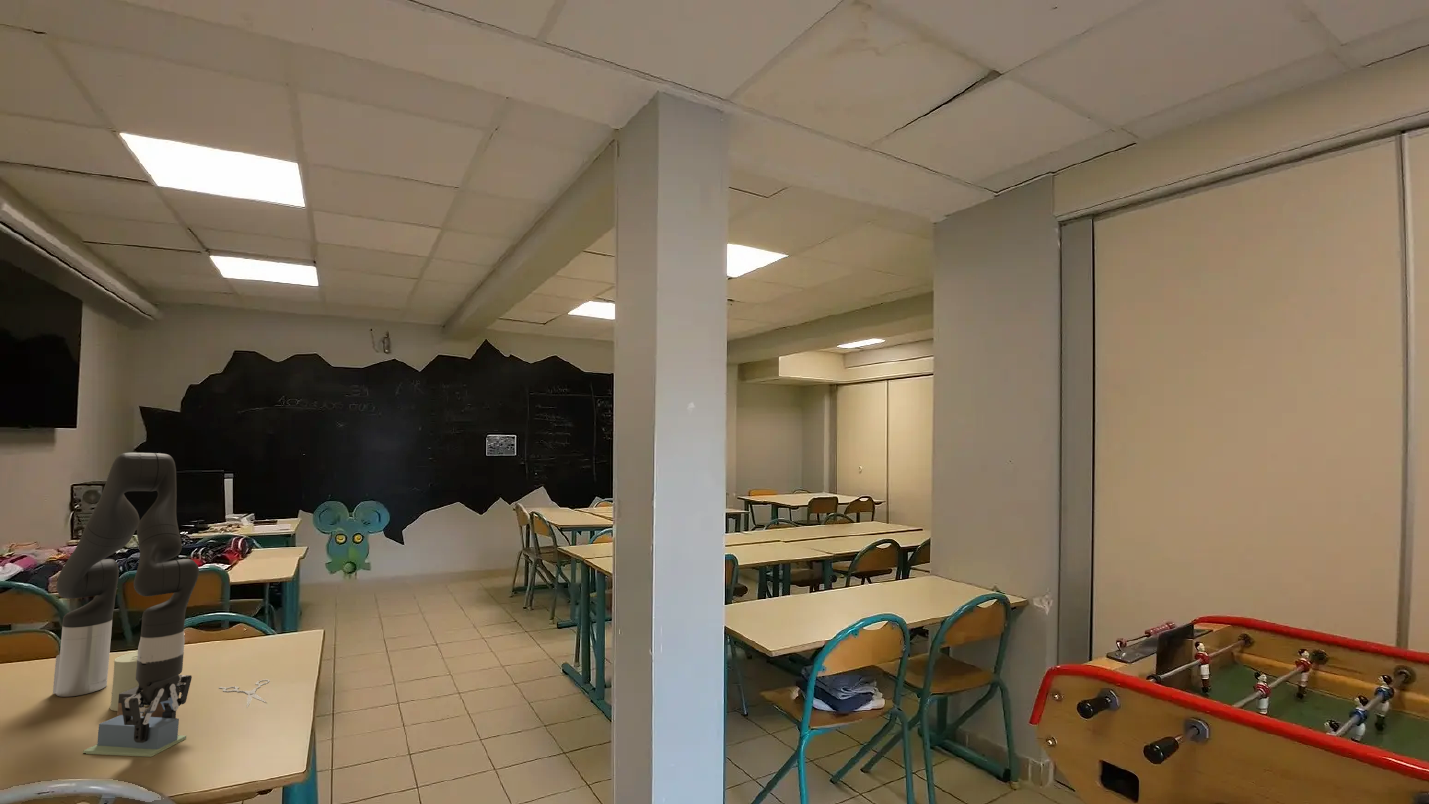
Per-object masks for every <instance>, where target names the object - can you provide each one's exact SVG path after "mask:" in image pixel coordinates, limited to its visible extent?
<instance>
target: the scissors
mask: <svg viewBox="0 0 1429 804" xmlns="http://www.w3.org/2000/svg"><path fill="white" fill-rule="evenodd" d="M261 682H263V683H261ZM270 682H271V681H270V679H261V680H258V681H256V682H255V686H257V687H254V688H253V689H251V690H239V689H240V687H239V686H228V687H225V686H224V687H223V686H219V687H218V689H219V690H222V692H223V693H233V692H234V693H243V694H245V695H247V699H246V700H247V702H246V708H248V707H249V705H250V704H251V702H252V700H253V698H254V699H256V700H259V701H261V702H264V703H267V702H266V700H264V698H262V697H261V696H259V695H258V694H257V693H256V692H257V690H258V689H260V688H261V687H262V686H264V685H266V684H269V683H270Z"/></svg>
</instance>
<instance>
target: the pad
mask: <svg viewBox="0 0 1429 804" xmlns="http://www.w3.org/2000/svg"><path fill="white" fill-rule="evenodd" d="M186 739H187V735H184V734H183V735H178V738H177V740H175V741H173V742H171V743H169V744H167V745H165V746H163V747H161V748H159V749H143V748H128V747H113V746H99V745H97V744H94V745H92V746H90V747H88V748H86V749H84V750H83V751H82V754H83V753H86V754H85V755H103V756H105V755H107V756H122V757H123V756H129V757H130V756H131V757H145V758H146V757H148V758H150V757H153V756H156V755H158V754H159V753H161V752H164V751H165V750H167V749H169V748H171V747H173V746H174V745H176V744H179V743H180V742H182V741H184V740H186Z"/></svg>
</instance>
